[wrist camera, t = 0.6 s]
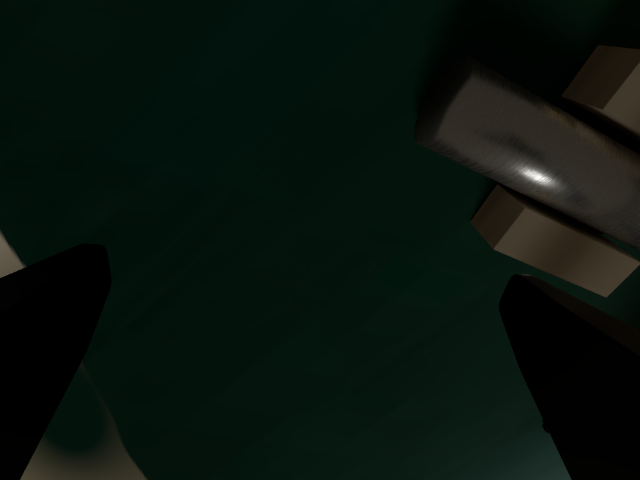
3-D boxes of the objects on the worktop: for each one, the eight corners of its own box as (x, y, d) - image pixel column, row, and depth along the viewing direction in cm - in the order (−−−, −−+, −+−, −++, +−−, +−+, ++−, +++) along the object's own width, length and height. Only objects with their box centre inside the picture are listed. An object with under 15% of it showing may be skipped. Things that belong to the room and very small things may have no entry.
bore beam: (710, 118, 20) (771, 133, 18) (573, 267, 25) (606, 297, 22) (598, 44, 18) (649, 50, 16) (470, 221, 23) (493, 249, 20)
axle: (662, 168, 22) (726, 203, 18) (604, 225, 24) (653, 266, 20) (454, 48, 18) (487, 65, 15) (407, 127, 20) (427, 158, 17)
